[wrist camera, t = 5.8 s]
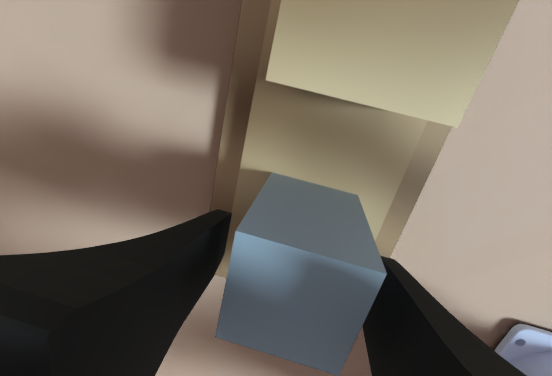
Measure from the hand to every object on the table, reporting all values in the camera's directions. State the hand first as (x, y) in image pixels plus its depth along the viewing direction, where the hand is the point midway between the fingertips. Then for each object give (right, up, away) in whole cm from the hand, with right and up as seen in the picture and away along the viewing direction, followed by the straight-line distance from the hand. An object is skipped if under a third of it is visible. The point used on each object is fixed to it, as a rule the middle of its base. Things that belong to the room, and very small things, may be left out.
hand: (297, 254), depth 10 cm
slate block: (0, +1, +2) cm, 2 cm away
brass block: (+2, +8, -1) cm, 8 cm away
